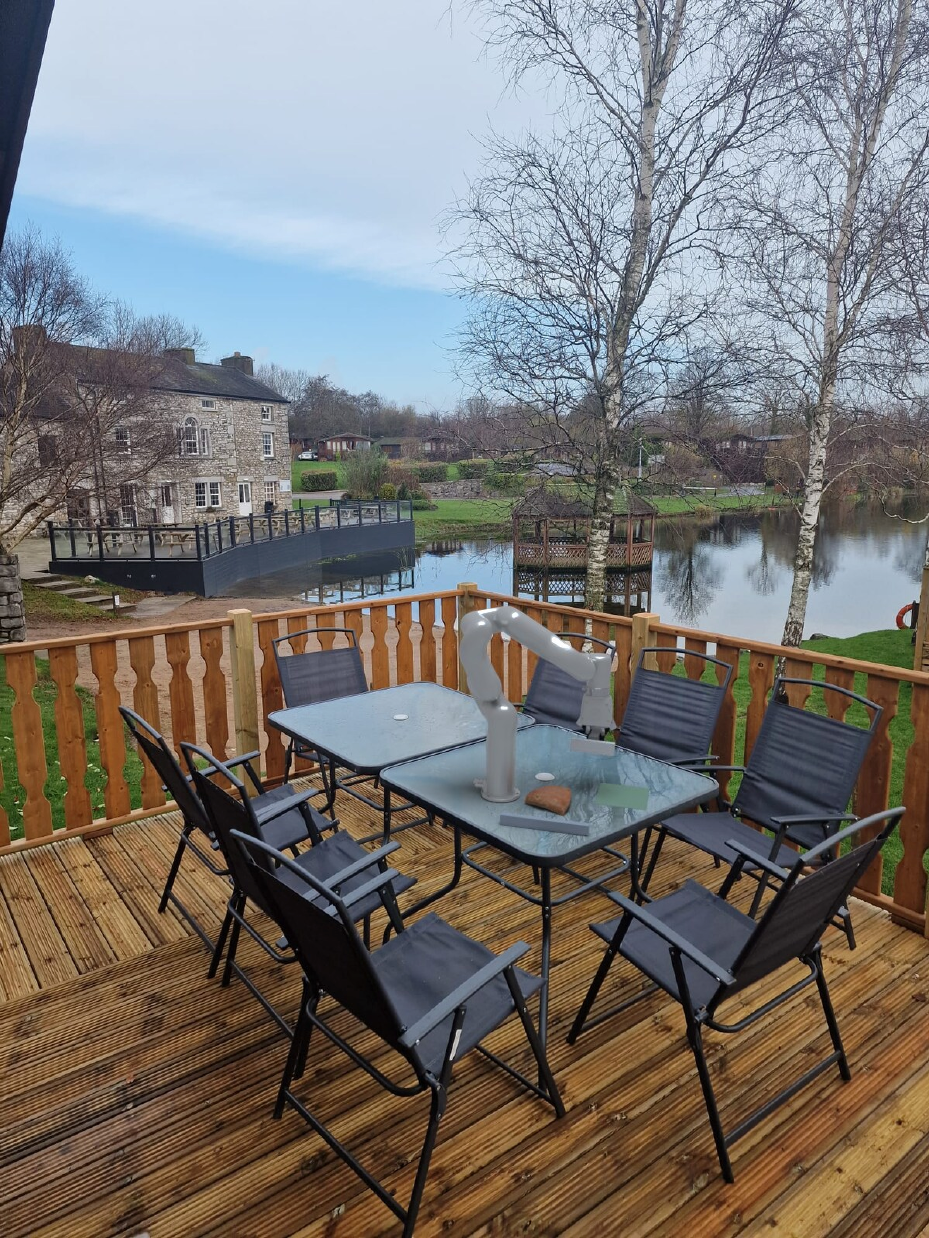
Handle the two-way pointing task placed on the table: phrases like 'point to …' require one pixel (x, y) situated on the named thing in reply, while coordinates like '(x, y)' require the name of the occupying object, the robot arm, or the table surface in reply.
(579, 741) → the scraper
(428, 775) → the table surface
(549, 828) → the board
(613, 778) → the table surface
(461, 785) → the table surface
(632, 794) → the mat
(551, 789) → the ceramic shard
